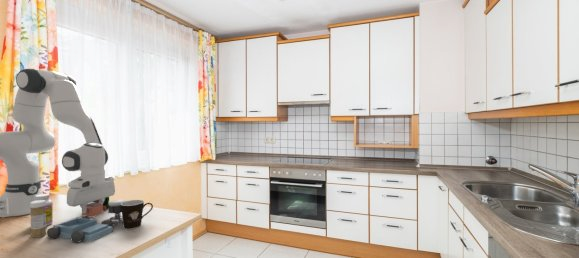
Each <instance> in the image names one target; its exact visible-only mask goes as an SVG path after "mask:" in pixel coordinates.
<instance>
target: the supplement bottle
mask: <svg viewBox="0 0 579 258" xmlns="http://www.w3.org/2000/svg"><path fill="white" fill-rule="evenodd" d="M50 197H51V196H50V193H43V194H39V195H36V196H35V200H36V201H37V200H45V201H46V207H45V210H46V227H47V226H50V225H52V223H53V210H54V209H53V208H54V207H53V204H54V203H53V200H51V199H50Z"/></svg>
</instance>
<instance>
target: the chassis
mask: <svg viewBox="0 0 579 258" xmlns="http://www.w3.org/2000/svg"><path fill="white" fill-rule="evenodd" d="M113 226H114V225H113V222H112V220H110V218H108V219H104V220H102V221H101V223H97V219H92V218H90V217H89V216H82V217H74V218H72V219H69V220H66V221H63V222H60V223H56V224H54V225H53V226H52V227H50V228H48V229H47V231H46V236H47V237H48V239H51V240H53V239H55V238H63V239H69V240H71V241H72V242H73V243H75V244H77V243H79V242H81V241H82V242H87V243H89V242H92V241H94V240H97V239H98V238H101V237H103V236H106V235H109V234H110V233H113V232H114V231H113V229H114V227H113Z"/></svg>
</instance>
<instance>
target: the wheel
mask: <svg viewBox="0 0 579 258" xmlns="http://www.w3.org/2000/svg"><path fill="white" fill-rule="evenodd" d="M125 201H127V199H115V200H114V199H113V200H111V201H109V205H108V208H107V209H108V210H107V211H108V212H107V213H109V214H115V213H120V212H121V213H122V210H121V203H123V202H125Z"/></svg>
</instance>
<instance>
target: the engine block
mask: <svg viewBox="0 0 579 258" xmlns="http://www.w3.org/2000/svg"><path fill="white" fill-rule="evenodd" d="M86 208H88V209H89V212H88V213H83V212H82V211H81V216H82V217H85V216H88V217H89V218H90V217H91V218H93V217H96V216H100V215H102V214H103V213H104V211H103V205H102V204H100V203H97V202H89V203H87V205H86Z"/></svg>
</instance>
